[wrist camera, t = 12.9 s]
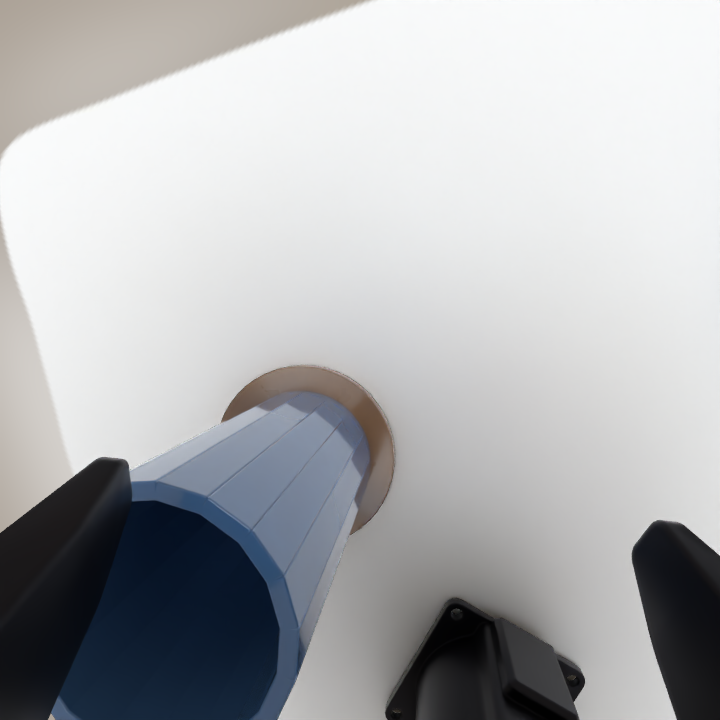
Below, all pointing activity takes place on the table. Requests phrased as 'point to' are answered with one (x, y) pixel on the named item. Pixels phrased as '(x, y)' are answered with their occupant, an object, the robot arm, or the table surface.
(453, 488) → the table surface
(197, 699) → the pen cup
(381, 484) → the coaster
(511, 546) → the table surface
